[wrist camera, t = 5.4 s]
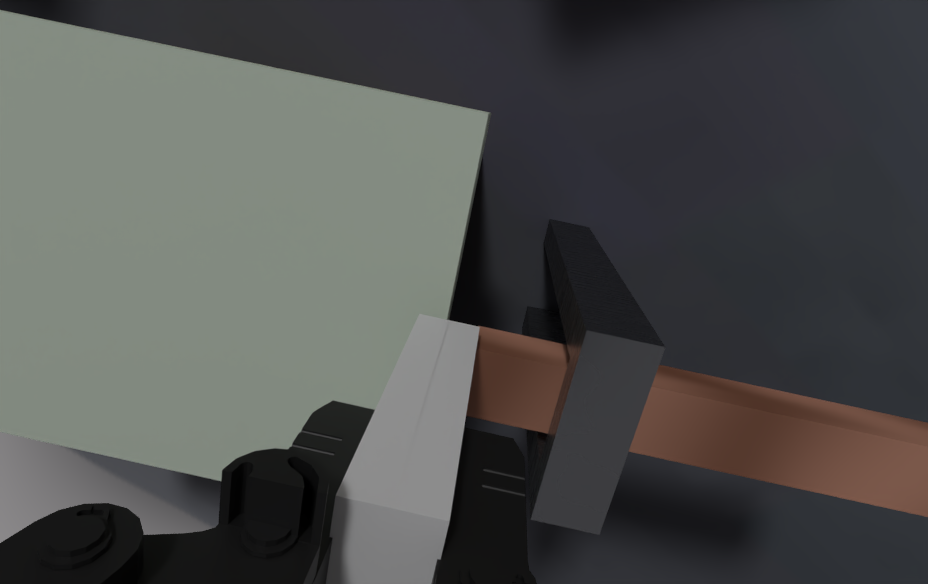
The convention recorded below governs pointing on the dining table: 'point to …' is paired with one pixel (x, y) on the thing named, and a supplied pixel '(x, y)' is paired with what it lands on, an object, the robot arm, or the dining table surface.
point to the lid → (210, 243)
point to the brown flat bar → (723, 425)
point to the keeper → (588, 382)
